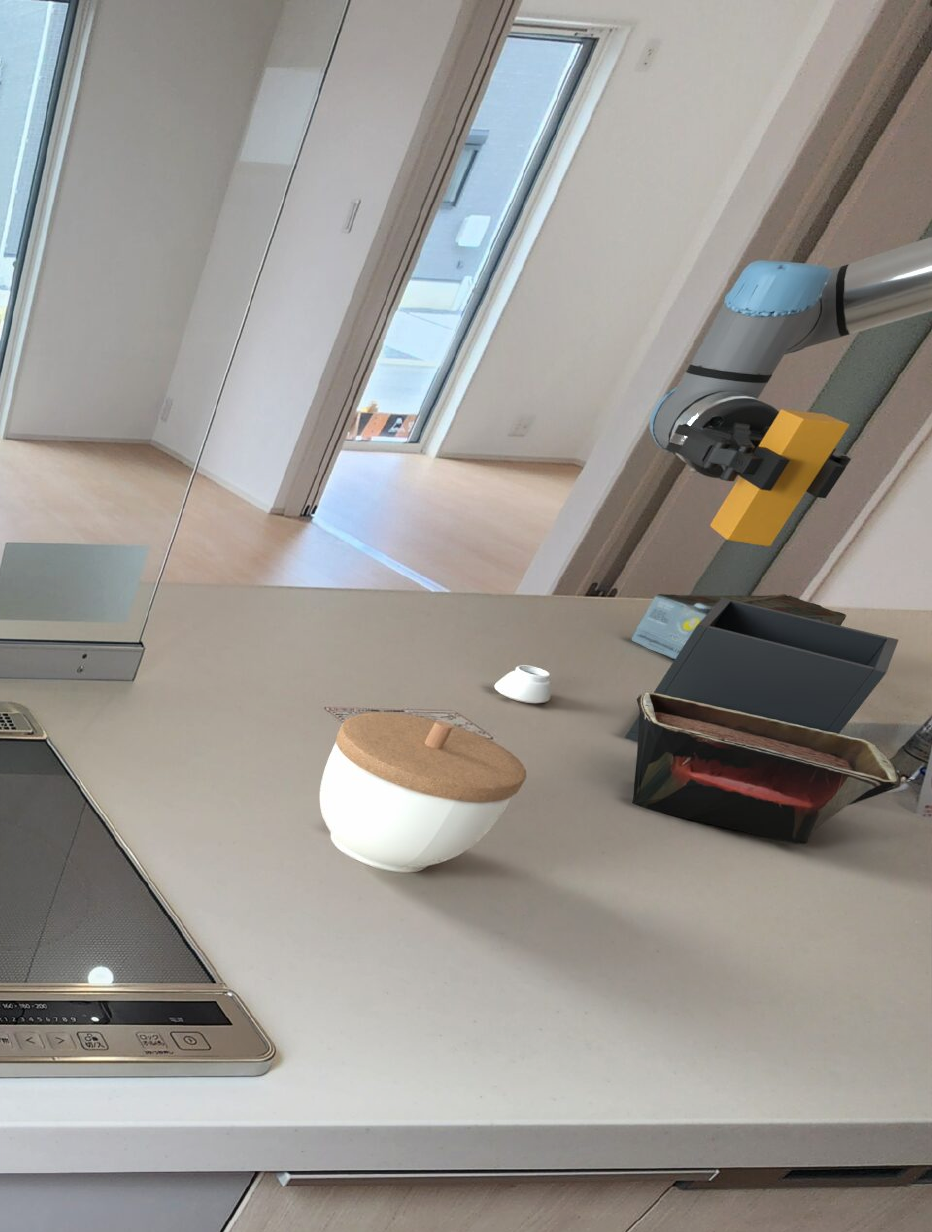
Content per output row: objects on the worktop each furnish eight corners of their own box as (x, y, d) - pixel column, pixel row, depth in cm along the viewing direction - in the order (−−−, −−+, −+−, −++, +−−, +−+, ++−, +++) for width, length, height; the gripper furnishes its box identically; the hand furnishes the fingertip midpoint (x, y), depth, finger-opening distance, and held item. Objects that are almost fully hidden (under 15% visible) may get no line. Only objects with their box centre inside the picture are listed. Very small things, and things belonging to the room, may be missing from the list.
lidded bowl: (431, 821, 90) (498, 701, 84) (493, 903, 80) (575, 774, 74) (277, 800, 92) (331, 680, 85) (319, 878, 82) (384, 749, 75)
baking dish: (607, 766, 106) (647, 671, 101) (856, 807, 96) (916, 703, 90) (586, 828, 98) (628, 727, 92) (857, 880, 87) (923, 770, 82)
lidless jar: (482, 689, 116) (524, 708, 112) (496, 663, 114) (539, 682, 110) (514, 685, 117) (557, 704, 113) (528, 659, 115) (572, 678, 112)
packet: (750, 532, 108) (825, 414, 101) (770, 546, 104) (850, 424, 97) (709, 525, 109) (781, 409, 103) (727, 540, 105) (803, 418, 98)
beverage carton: (623, 638, 132) (656, 586, 128) (757, 642, 134) (792, 590, 131) (678, 664, 126) (713, 609, 122) (817, 667, 128) (856, 613, 124)
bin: (812, 751, 107) (899, 639, 100) (794, 791, 100) (886, 672, 93) (652, 704, 115) (722, 597, 108) (624, 738, 107) (697, 624, 100)
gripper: (795, 484, 115) (884, 536, 98) (617, 460, 121) (672, 505, 103) (844, 408, 111) (946, 449, 94) (657, 387, 116) (721, 421, 99)
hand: (802, 478), depth 98 cm, fingers closed on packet, 3 cm apart
